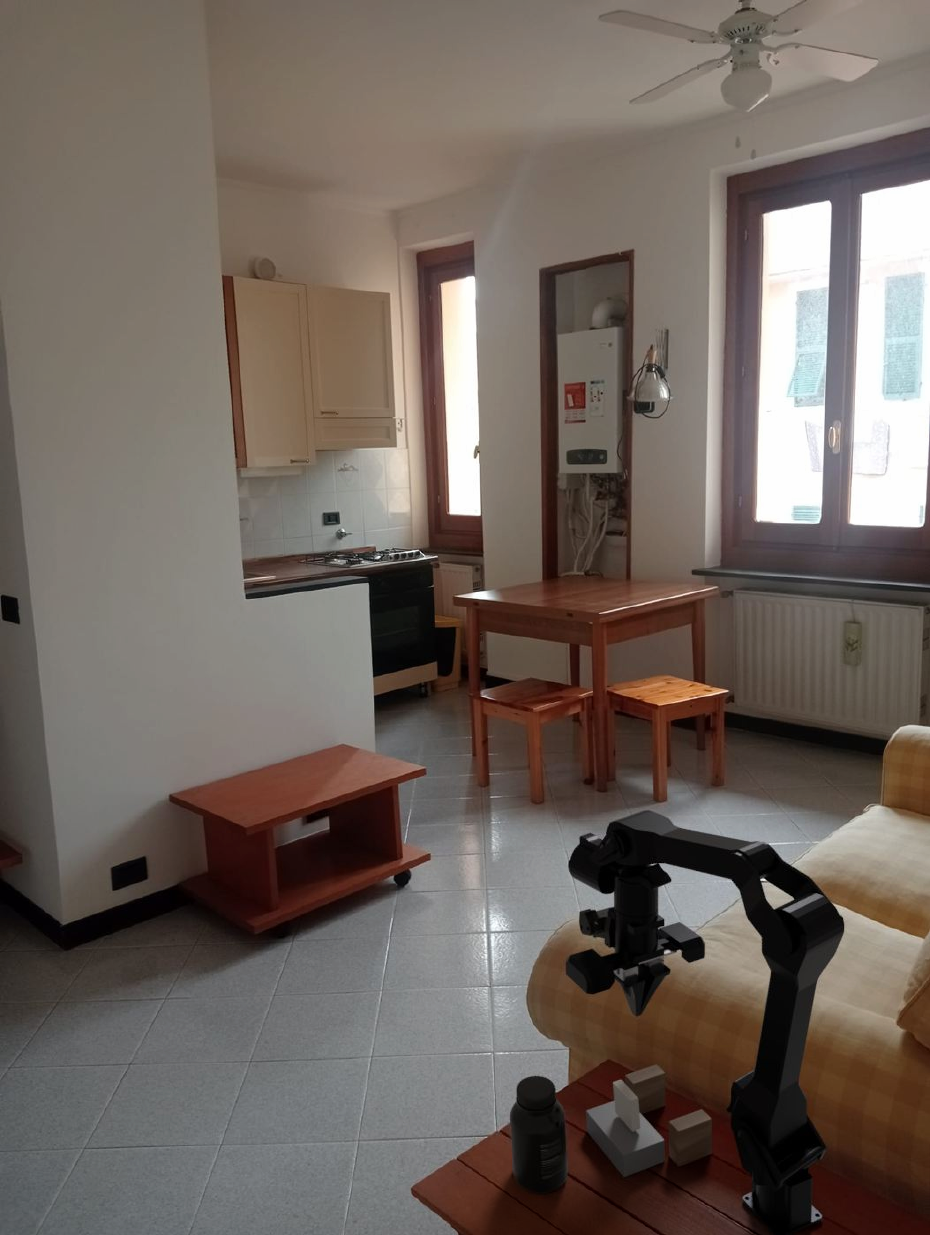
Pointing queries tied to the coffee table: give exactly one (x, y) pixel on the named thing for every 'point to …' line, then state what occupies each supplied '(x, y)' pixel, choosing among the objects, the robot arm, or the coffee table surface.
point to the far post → (648, 1087)
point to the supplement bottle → (538, 1136)
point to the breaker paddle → (626, 1105)
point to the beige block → (690, 1137)
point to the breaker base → (625, 1140)
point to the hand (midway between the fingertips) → (636, 1014)
